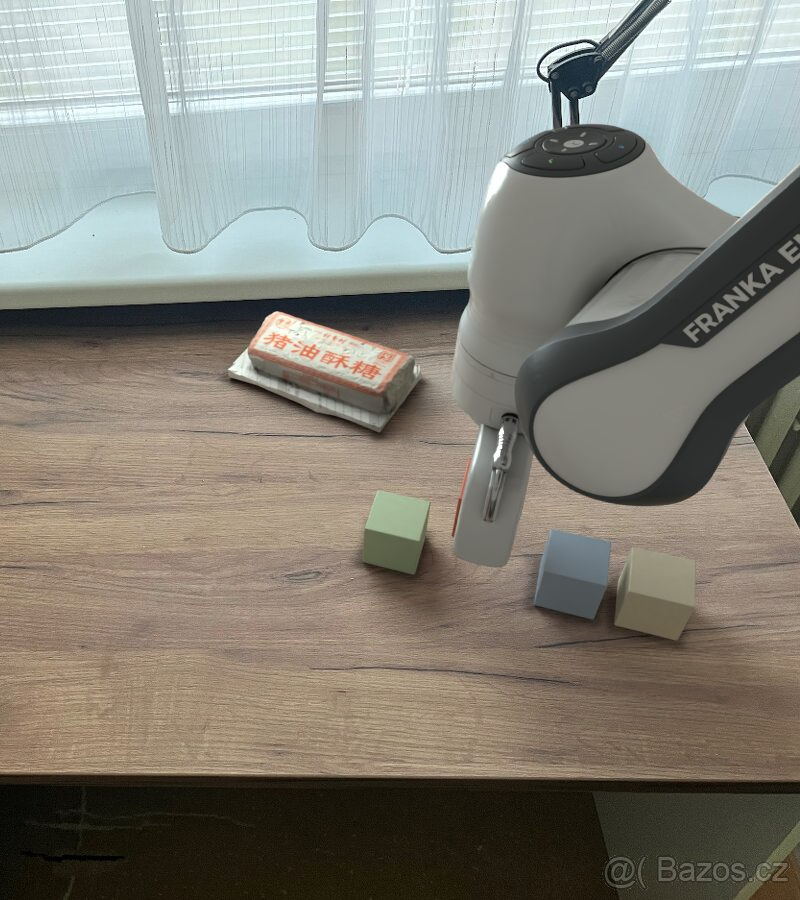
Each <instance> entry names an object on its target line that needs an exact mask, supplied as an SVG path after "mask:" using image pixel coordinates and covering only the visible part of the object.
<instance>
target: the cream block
mask: <svg viewBox="0 0 800 900" xmlns="http://www.w3.org/2000/svg"><path fill="white" fill-rule="evenodd" d="M696 575H697V561H696V560H693V559H691V558H686V557H680V556H676V555H672V554H667V553H663V552H658V551H654V550H649V549H644V548H641V547H637V546H636V547H635V546H632V547H631V548H630V551H629V554H628V555H627V558H626V560H625V563H624V565H623V568H622V570H621V573H620V575H619V578H618V580H617V586H616V587H617V588H616V599H615V610H614V612H615V613H614V621H613V622H614V623H613V624H614V626H616V627H620V628H623V629H628V630H633V631H637V632H640V633H643V634H644V633H645V634H647V635H652V636H656V637H661V638H664V639H668V640H673V641H678V640H679V639H680V636H681V635H682V633H683V631H684V629H685V627H686V625H687V624H688V622H689V620H690V618H691V616H692V614H693V612H694V610H695V609H696V593H697V592H696V591H697V588H696V586H697V576H696Z"/></svg>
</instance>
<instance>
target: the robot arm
mask: <svg viewBox="0 0 800 900" xmlns="http://www.w3.org/2000/svg"><path fill="white" fill-rule="evenodd" d="M466 273H467V285H468V290H469V299H468V303H467V305H466V306H465V308H464V309H463V310H464V311H463V312H462V314H461V316H460V320H459V323H458V327H457V334H456V335H457V336H456V341H455V347H454V353H453V359H452V366H451V372H450V378H449V388H450V392H451V395H452V398H453V399H454V401H455V402H456V404H457V405H458V407H459V408H460V409H461V410H462V411H463V412H464V413H465V414H467V416H469V418H470V419H471V420H472V421H473V422H474V423H475V424H476V425H477V426H478V430H477V434H476V438H475V442H474V446H473V450H472V453H471V457H470V458H471V462H470V466H469V470H468V474H467V478H466V483H465V487H464V492H463V497H462V501H461V506H460V511H459V516H458V521H457V526H456V530H455V535H454V537H453V540H452V552H453V553H452V554H453V555H454V556H455V557H457V558H458V559H460V560H462V561H465V562H468V563H471V564H475V565H478V566H484V567H488V568H497V569H498V568H503V567H505V566H506V565H507V564H508V562H509V561H510V558H511V555H512V551H513V547H514V543H515V540H516V536H517V532H518V529H519V524H520V520H521V517H522V513H521V512H523V508H524V504H525V501H526V495H527V490H528V486H529V481H530V475H531V469H532V465H533V459H534V457H535V459H536V460H537V461H538V463H539V464H540V465H541V466H542V468H543V469H544V470H545V471H546V472H547V473H548V474H549V475H550V476H551V477H553V478H554V479H555V480H556V481H557V482H558V483H560V484H561V485H563V486H564V487H566V488H567V489H569V490H571V491H573V492H574V493H577V494H578V495H581V496H584V497H587V498H589V499H592V500H595V501H599V502H603V503H608V504H613V505H618V506H626V507H627V506H629V507H661V506H669V505H670V506H671V505H675V504H678V503H681V502H684V501H686V500H688V499H690V498H692V497H694V496H695V495H697V494H698V493H700V492H701V490H703V489H704V488H705V487H706V486H707V485H708V484H709V482H710V480H711V479H712V478H713V476H714V474H715V472H717V470H718V468H719V466H720V464H721V463H722V461H723V460H724V458H725V456H726V454H727V452H728V450H729V448H730V446H731V444H732V442H733V440H734V438H735V437H736V435H737V434H738V432H739V431H740V430H741V428H742V426H743V425H744V423H745V422H746V421H747V419H748V418H749V417H750V415H751V413H752V412H753V411H754V410H756V409H757V408H758V407H759V406H760V405H761V404H763V403H764V402H766V400H768V399H770V398H771V397H772V396H773V395H774V394H776V393H778V391H781V389H783V388H784V387H786V386H787V385H789V384H790V383H791V382H793V381H795V380H796V379H797V378H798V377H800V162H799V163H798V164H797V165H795V167H794V168H793V169H792V170H790V172H789V173H787V175H786V176H785V177H784V178H783V179H781V180H780V181H779V182H778V183H777V184H776V185H775V186H773V187H772V188H771V189H770V190H769V191H768V192H767V193H766V194H765V195H763V197H762V198H760V199H759V200H758V201H757V202H756V203H755V204H754V205H753V206H751V207H750V209H748V210H747V211H746V212H744V214H743V215H741V216H736V215H733V214H731V213H729V212H727V211H726V210H724V209H722V208H720V207H718V206H716V205H715V204H713V203H711V202H710V201H708V200H706V199H705V198H703V197H702V196H701V195H699V194H697V193H695V192H694V191H693V190H691V189H690V188H688V187H687V186H686V185H684V184H683V183H682V182H681V181H679V180H678V179H677V178H676V177H675V176H673V174H672V173H670V172H669V170H668V169H667V168H666V167H665V166H664V165H663V163H662V162H661V160H660V158H659V157H658V155H657V154H656V152H655V151H654V149H653V147H652V145H651V144H650V143H649V142H648V141H647V140H646V139H645V137H643V136H642V135H640V134H638V133H636V132H634V131H632V130H629V129H626V128H623V127H619V126H616V125H610V124H603V123H579V124H569V125H564V126H562V127H557V128H552V129H547V130H543V131H541V132H539V133H537V134H535V135H533V136H530V137H528V138H527V139H525V140H523V141H522V142H520V143H519V144H517V145H516V146H514V147H513V148H512V149H511V150H510V151H508V152H507V153H506V154H505V155H503V156H502V157H501V158H500V160H499V161H498V162H497V164H496V165H495V168H494V169H493V172H492V173H491V176H490V178H489V181H488V183H487V186H486V189H485V192H484V194H483V198H482V201H481V205H480V208H479V212H478V216H477V221H476V225H475V229H474V233H473V238H472V242H471V248H470V254H469V259H468V265H467V272H466ZM520 516H521V517H520Z"/></svg>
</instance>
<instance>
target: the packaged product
mask: <svg viewBox="0 0 800 900" xmlns="http://www.w3.org/2000/svg"><path fill="white" fill-rule="evenodd" d="M226 372H227V375H228V377H229V378H231V379H235V380H238V381H242V382H245V383H249V384H252V385H254V386H255V385H256V386H259V387H261V388H263V389H265V390H267V391H269V392H272V393H273V394H276V395H279V396H281V397H283V398H286V399H288V400H290V401H293V402H296V403H298V404H301V406H304V407H306V408H308V409H309V410H311V411H313V412H315V413H319V414H324V415H331V416H335V417H338V418H341V419H345V420H347V421H349V422H352V423H355V424H357V425H360V426H362V427H365V428H367V429H370V430H372V431H375V432H376V433H381V431H383V429H384V428H385V426H386V425H387V424H388V423H389V421H390V420H391V419H392V417H393V416H394V415H395V413H396V412H397V411H398V409H399V408H400V406H402V404H403V403H404V402H405V400H406V399H407V398H408V396H409V394H410V393H411V392H412V391H413V389H414V388H415V387H416V385H417V384H418V383H419V381H420V380H421V378H422V377H423V375H422V371H421V366H420V365H416V357H415V356H413V355H412V354H408V353H406V352H402V351H400V350H397V349H395V348H391V347H388V346H385V345H381V344H379V343H376V342H372V341H371V340H366V339H364V338H361V337H358V336H355V335H351V334H349V333H346V332H342V331H340V330H338V329H333V328H330V327H328V326H325V325H321V324H317V323H314V322H312V321H308V320H306V319H303V318H300V317H296V316H293V315H291V314H288V313H285V312H281V311H274V312H272V313H270V314H269V315H268V316H266V317H265V318H264V321H262V324H261V326H260V327H259V329H258V330H257V332H256V334H255V335H254V337H252V338H251V341H250V343H249V346H248V347H247V348H246V349H244V351H243V352H242V353H241V354H240V355H239V356H238V357H237V358H236V359H235V361H233V362H232V365H231V366H230V367H229V368H228V369H226Z"/></svg>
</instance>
